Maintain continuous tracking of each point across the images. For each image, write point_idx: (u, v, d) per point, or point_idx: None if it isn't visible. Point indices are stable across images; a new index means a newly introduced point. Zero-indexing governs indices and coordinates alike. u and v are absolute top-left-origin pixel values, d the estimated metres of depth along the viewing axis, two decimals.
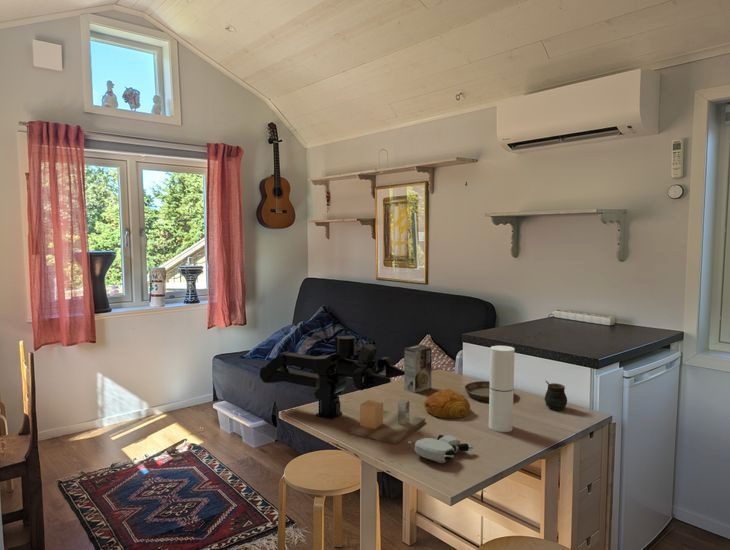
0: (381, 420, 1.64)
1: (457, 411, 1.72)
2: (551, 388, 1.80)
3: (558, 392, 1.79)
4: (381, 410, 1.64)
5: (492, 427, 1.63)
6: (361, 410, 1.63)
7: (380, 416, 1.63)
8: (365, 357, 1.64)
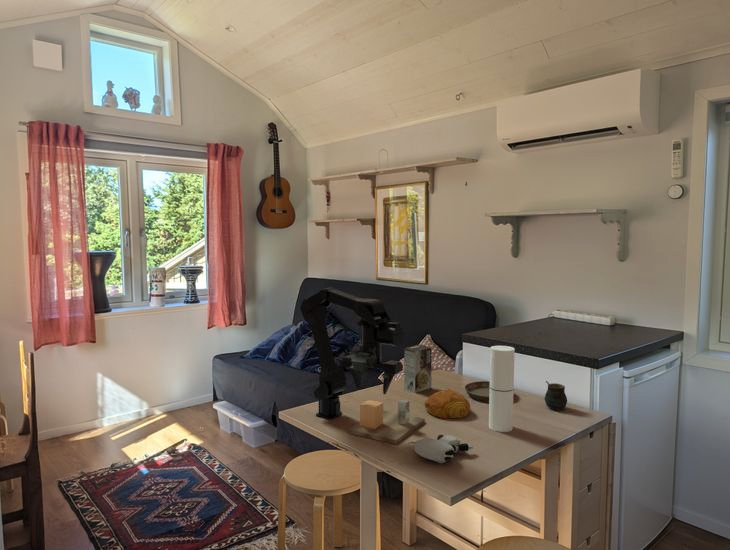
0: (381, 420, 1.64)
1: (457, 411, 1.72)
2: (551, 388, 1.80)
3: (558, 392, 1.79)
4: (381, 410, 1.64)
5: (492, 427, 1.63)
6: (361, 410, 1.63)
7: (380, 416, 1.63)
8: None
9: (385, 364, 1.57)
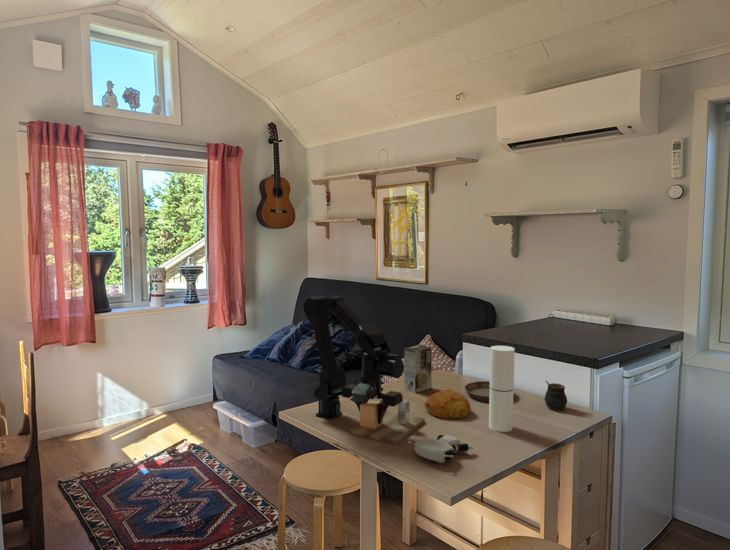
0: None
1: (457, 412, 1.72)
2: (551, 388, 1.80)
3: (558, 392, 1.79)
4: None
5: (492, 427, 1.63)
6: (361, 410, 1.63)
7: None
8: None
9: (385, 396, 1.58)
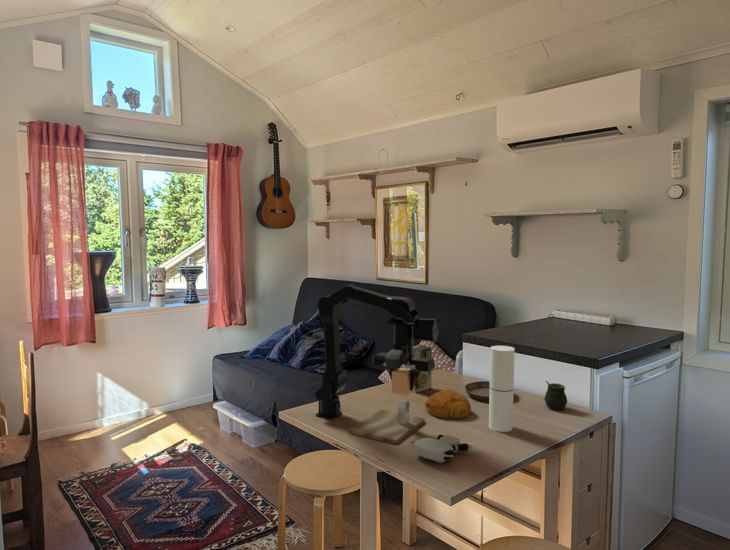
0: None
1: (457, 412, 1.72)
2: (551, 388, 1.80)
3: (558, 392, 1.79)
4: None
5: (492, 427, 1.63)
6: (393, 377, 1.63)
7: None
8: None
9: (418, 361, 1.58)
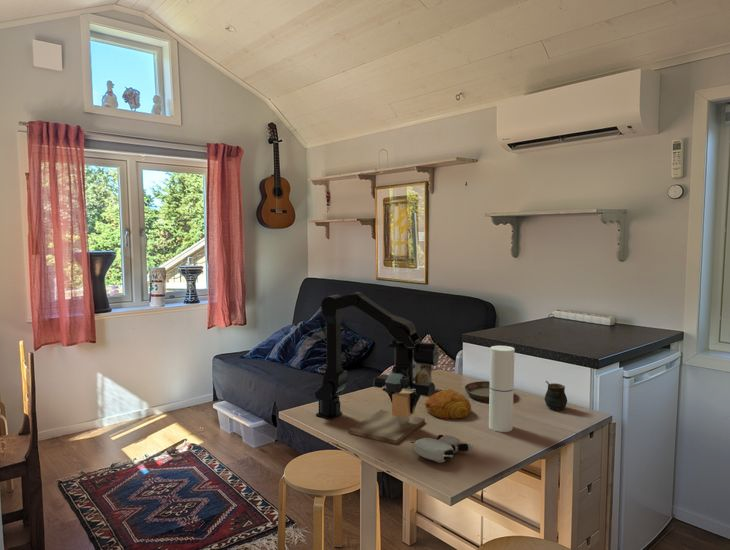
0: None
1: (457, 412, 1.72)
2: (551, 388, 1.80)
3: (558, 392, 1.79)
4: None
5: (492, 427, 1.63)
6: (393, 400, 1.63)
7: None
8: None
9: (418, 385, 1.59)
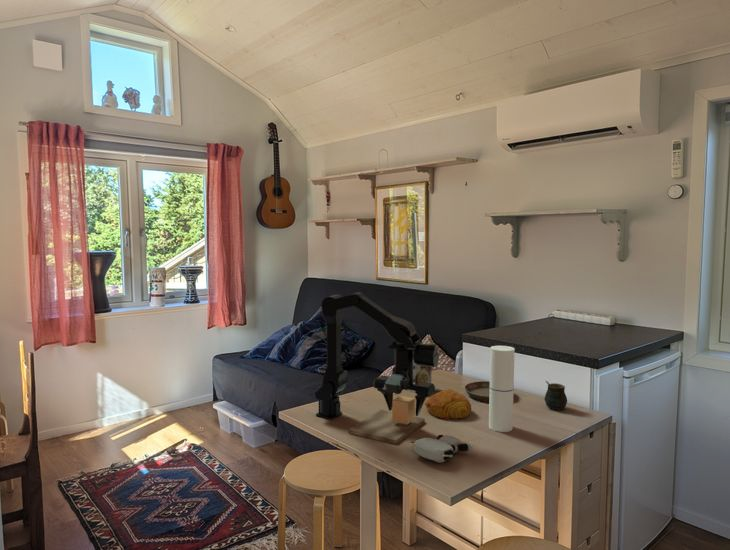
0: (413, 415, 1.65)
1: (458, 412, 1.72)
2: (551, 388, 1.80)
3: (558, 392, 1.79)
4: (413, 406, 1.65)
5: (492, 427, 1.63)
6: (393, 406, 1.64)
7: (412, 412, 1.64)
8: None
9: (418, 386, 1.59)
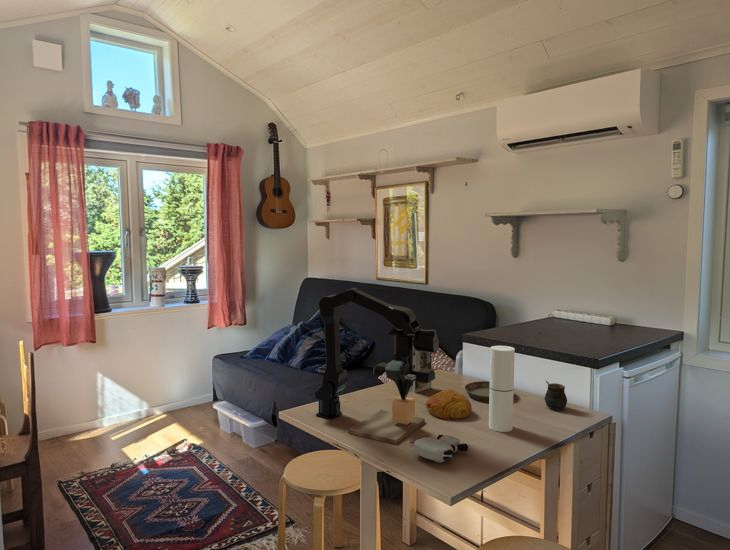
0: (413, 415, 1.65)
1: (458, 412, 1.71)
2: (551, 388, 1.80)
3: (558, 392, 1.79)
4: (413, 406, 1.65)
5: (492, 427, 1.63)
6: (393, 406, 1.64)
7: (412, 412, 1.64)
8: None
9: (418, 372, 1.59)
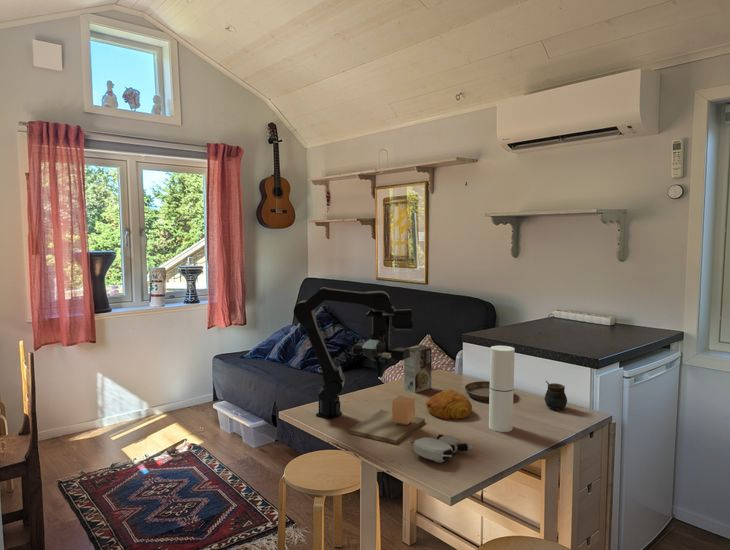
0: (413, 415, 1.65)
1: (458, 412, 1.71)
2: (551, 388, 1.80)
3: (558, 392, 1.79)
4: (413, 406, 1.65)
5: (492, 427, 1.63)
6: (393, 406, 1.64)
7: (412, 412, 1.64)
8: None
9: (393, 351, 1.68)
